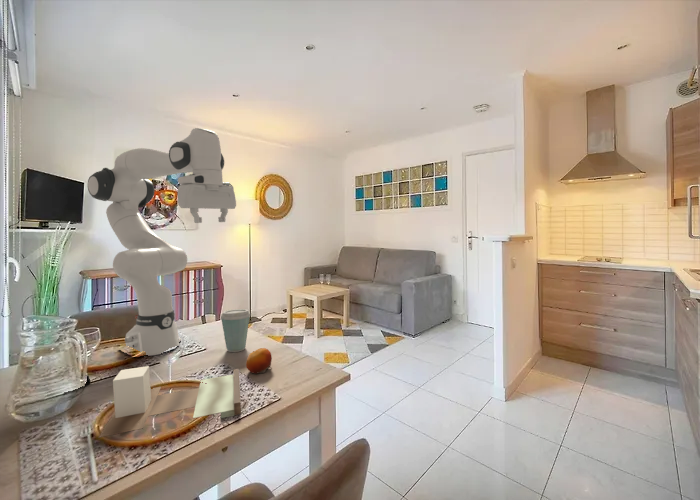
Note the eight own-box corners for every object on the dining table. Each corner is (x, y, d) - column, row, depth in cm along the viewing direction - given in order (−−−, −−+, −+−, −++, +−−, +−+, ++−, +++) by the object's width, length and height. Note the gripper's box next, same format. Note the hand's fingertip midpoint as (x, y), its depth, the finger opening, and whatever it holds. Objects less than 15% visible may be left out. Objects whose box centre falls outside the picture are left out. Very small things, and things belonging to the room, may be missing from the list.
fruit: (270, 372, 96) (257, 349, 96) (251, 384, 97) (237, 361, 98) (281, 361, 104) (269, 340, 104) (263, 372, 105) (251, 351, 106)
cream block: (115, 418, 74) (112, 380, 73) (123, 404, 79) (121, 370, 79) (145, 412, 76) (143, 375, 75) (151, 399, 81) (149, 365, 81)
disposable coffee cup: (219, 348, 121) (217, 309, 120) (247, 342, 127) (246, 305, 126) (225, 357, 112) (223, 315, 111) (255, 350, 118) (254, 310, 117)
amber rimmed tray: (99, 444, 67) (98, 430, 67) (127, 397, 86) (127, 387, 85) (241, 414, 77) (240, 402, 77) (239, 378, 96) (238, 368, 95)
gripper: (226, 183, 114) (228, 221, 116) (172, 177, 96) (176, 223, 97) (239, 182, 111) (241, 221, 113) (186, 176, 93) (189, 223, 95)
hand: (210, 222), depth 105 cm, fingers open, 8 cm apart
